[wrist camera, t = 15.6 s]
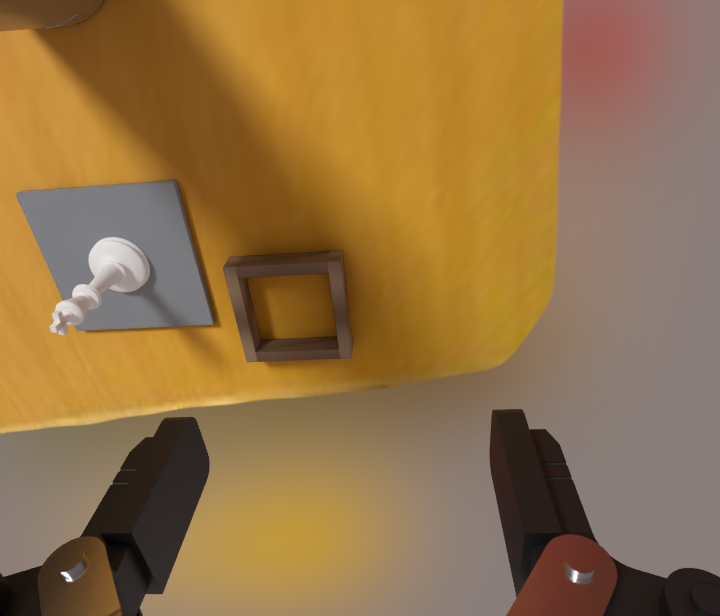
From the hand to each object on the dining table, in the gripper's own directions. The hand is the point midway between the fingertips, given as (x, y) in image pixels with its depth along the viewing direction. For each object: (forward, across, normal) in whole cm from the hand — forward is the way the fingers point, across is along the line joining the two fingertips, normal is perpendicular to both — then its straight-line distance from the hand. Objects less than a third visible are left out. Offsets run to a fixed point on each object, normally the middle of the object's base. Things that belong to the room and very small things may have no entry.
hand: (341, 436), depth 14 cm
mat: (+28, +22, +7) cm, 36 cm away
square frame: (+28, +8, +12) cm, 32 cm away
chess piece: (+28, +22, +7) cm, 36 cm away
